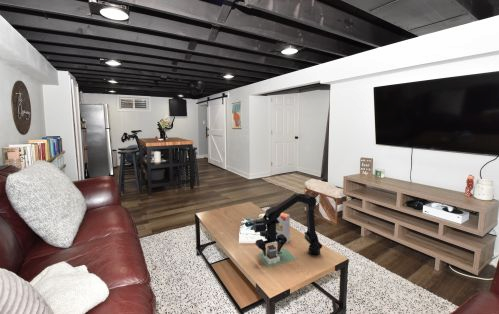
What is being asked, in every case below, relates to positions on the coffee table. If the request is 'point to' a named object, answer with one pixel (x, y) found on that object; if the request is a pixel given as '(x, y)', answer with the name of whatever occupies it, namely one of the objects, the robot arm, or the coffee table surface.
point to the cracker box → (283, 226)
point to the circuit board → (277, 258)
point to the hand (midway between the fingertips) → (271, 254)
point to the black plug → (271, 251)
